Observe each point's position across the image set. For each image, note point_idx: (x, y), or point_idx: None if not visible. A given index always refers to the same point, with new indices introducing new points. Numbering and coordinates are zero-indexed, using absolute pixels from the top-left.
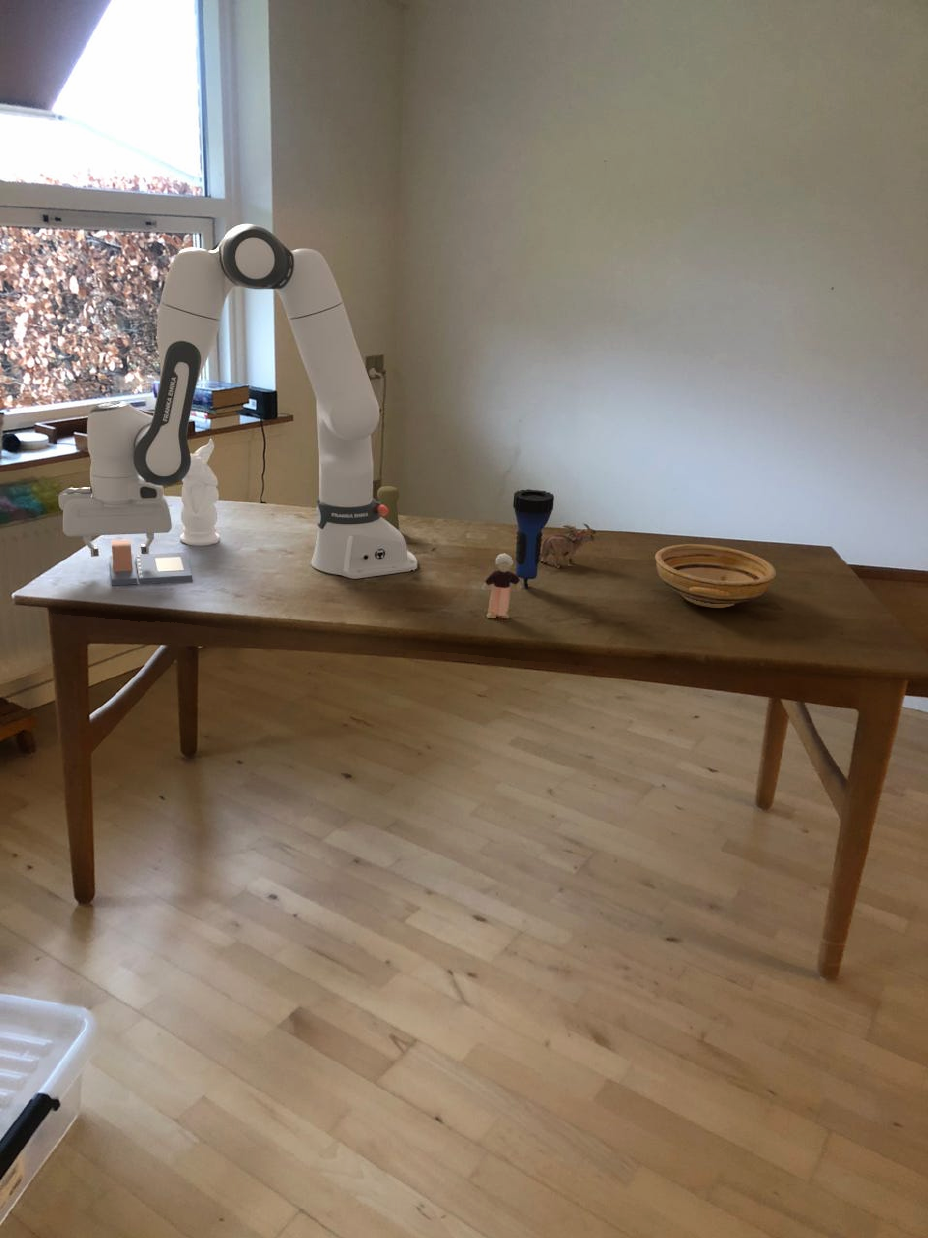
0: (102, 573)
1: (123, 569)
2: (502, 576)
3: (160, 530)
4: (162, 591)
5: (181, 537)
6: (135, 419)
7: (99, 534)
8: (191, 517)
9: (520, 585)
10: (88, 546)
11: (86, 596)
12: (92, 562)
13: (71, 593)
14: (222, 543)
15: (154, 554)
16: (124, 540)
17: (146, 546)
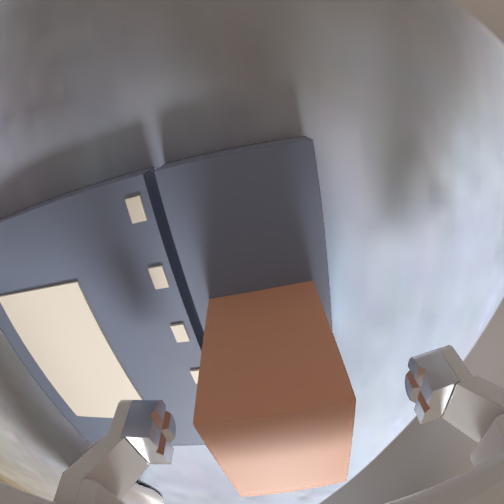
0: (361, 315)
1: (259, 296)
2: None
3: (1, 497)
4: (33, 83)
5: (153, 499)
6: None
7: (472, 475)
8: None
9: None
10: (488, 382)
11: (405, 8)
12: (386, 399)
13: (469, 65)
14: (66, 468)
15: (173, 443)
16: (268, 484)
17: (119, 436)
